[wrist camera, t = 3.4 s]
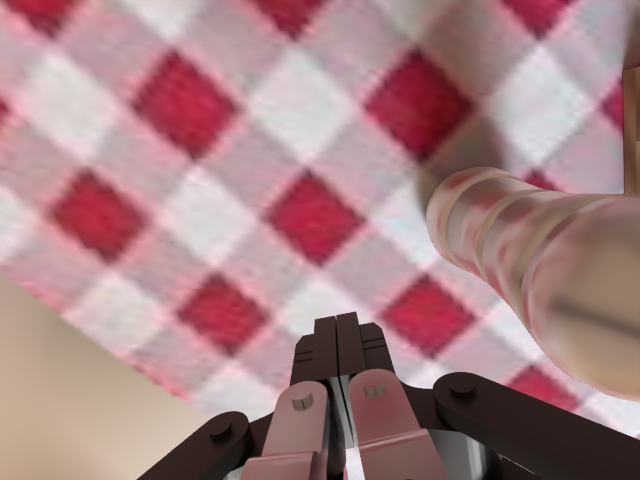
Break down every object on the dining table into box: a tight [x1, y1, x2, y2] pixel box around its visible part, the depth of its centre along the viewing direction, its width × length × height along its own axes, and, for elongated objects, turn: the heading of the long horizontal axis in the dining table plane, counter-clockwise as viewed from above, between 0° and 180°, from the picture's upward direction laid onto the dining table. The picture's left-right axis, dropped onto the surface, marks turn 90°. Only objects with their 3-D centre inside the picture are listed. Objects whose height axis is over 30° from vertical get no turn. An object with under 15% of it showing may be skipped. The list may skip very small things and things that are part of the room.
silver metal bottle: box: [426, 166, 640, 402], centre depth 16 cm, size 6×7×20 cm
